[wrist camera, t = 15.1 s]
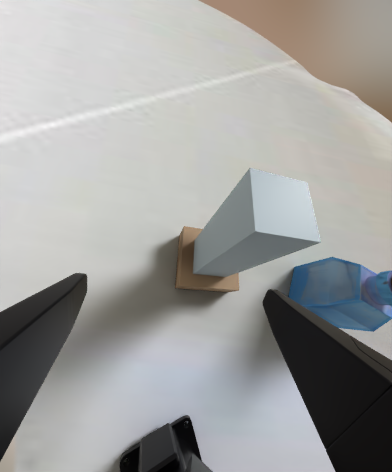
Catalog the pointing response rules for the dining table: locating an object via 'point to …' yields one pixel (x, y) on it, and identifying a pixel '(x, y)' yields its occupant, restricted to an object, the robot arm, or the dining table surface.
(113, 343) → the dining table surface
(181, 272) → the walnut plinth
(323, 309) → the perfume bottle
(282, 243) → the slate-blue post
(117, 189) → the dining table surface
